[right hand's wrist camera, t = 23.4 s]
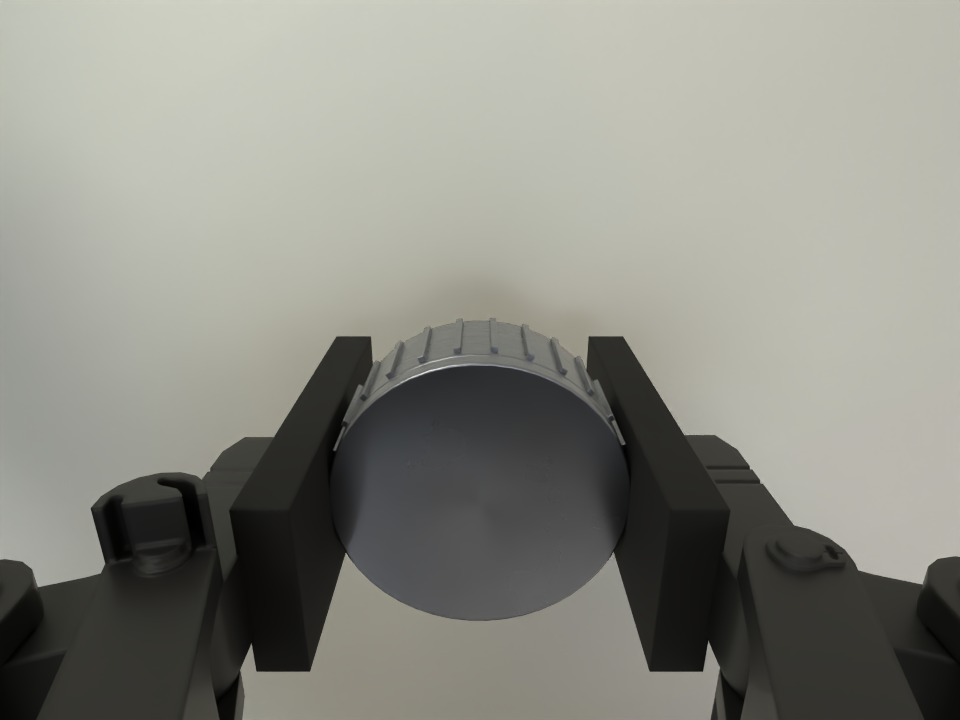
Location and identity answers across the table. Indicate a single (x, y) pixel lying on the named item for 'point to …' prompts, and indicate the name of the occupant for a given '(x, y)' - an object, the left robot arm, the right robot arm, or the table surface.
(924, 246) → the table surface
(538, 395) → the lid
